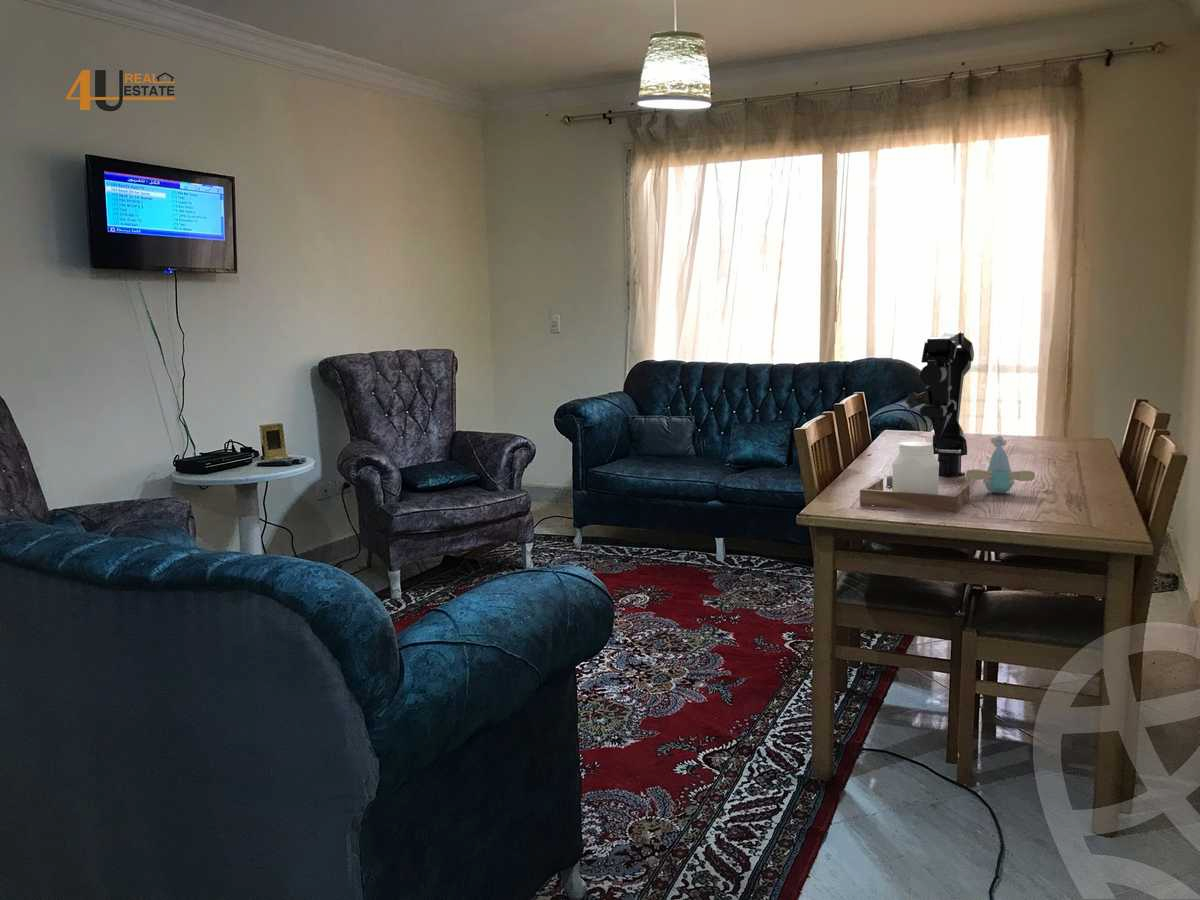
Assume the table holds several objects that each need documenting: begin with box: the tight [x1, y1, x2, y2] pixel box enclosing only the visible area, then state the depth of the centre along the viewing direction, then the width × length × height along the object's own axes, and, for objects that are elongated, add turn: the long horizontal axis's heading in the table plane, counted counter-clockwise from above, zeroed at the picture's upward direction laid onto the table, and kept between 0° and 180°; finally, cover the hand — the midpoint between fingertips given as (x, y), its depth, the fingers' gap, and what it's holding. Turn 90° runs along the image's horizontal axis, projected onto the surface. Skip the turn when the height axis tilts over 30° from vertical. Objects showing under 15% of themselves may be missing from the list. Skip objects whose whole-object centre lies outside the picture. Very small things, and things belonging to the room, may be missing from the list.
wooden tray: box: [859, 477, 971, 514], centre depth 244 cm, size 18×23×4 cm
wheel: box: [886, 475, 893, 488], centre depth 266 cm, size 6×6×3 cm
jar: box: [891, 441, 940, 495], centre depth 245 cm, size 12×10×15 cm
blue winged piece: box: [965, 434, 1036, 494], centre depth 251 cm, size 17×10×15 cm, turn 71°
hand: (938, 438), depth 264 cm, fingers closed
